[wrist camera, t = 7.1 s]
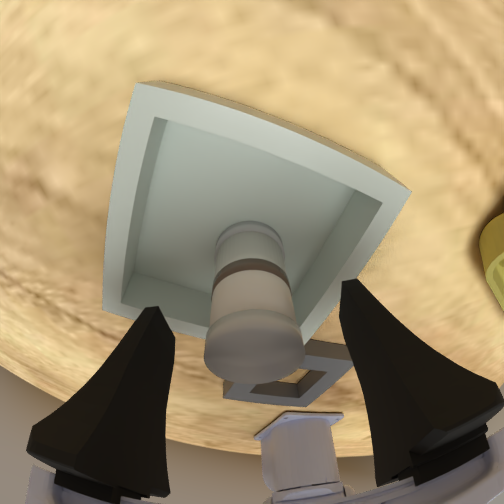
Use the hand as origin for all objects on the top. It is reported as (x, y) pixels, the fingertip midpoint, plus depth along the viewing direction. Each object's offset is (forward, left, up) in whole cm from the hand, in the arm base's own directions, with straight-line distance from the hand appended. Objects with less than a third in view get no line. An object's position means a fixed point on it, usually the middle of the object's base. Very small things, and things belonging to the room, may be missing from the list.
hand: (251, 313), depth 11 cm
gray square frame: (-10, -7, -5) cm, 13 cm away
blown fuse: (0, 0, -4) cm, 4 cm away
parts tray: (+1, +1, -5) cm, 5 cm away
